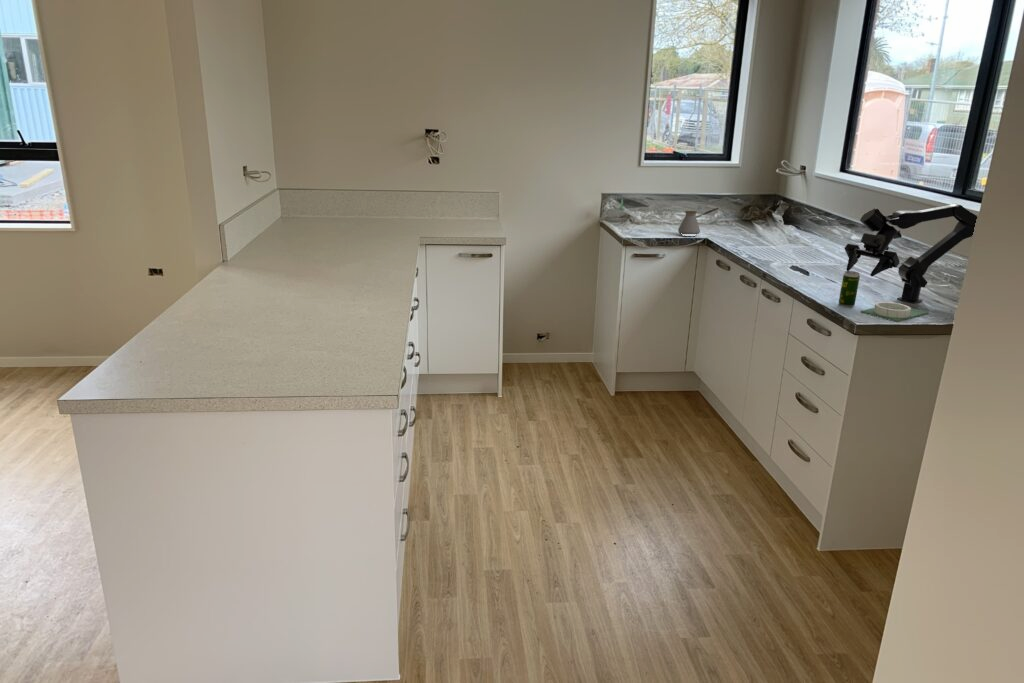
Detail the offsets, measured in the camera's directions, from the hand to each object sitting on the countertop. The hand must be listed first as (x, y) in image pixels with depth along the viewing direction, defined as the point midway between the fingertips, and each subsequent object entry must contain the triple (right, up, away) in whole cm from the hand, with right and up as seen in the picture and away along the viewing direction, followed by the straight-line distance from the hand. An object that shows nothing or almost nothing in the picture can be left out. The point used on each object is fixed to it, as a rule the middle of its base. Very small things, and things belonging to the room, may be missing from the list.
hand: (858, 273), depth 260 cm
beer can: (-4, -12, +1) cm, 13 cm away
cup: (+7, -15, -9) cm, 19 cm away
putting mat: (+9, -15, -7) cm, 19 cm away
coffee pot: (-25, +32, +128) cm, 134 cm away
